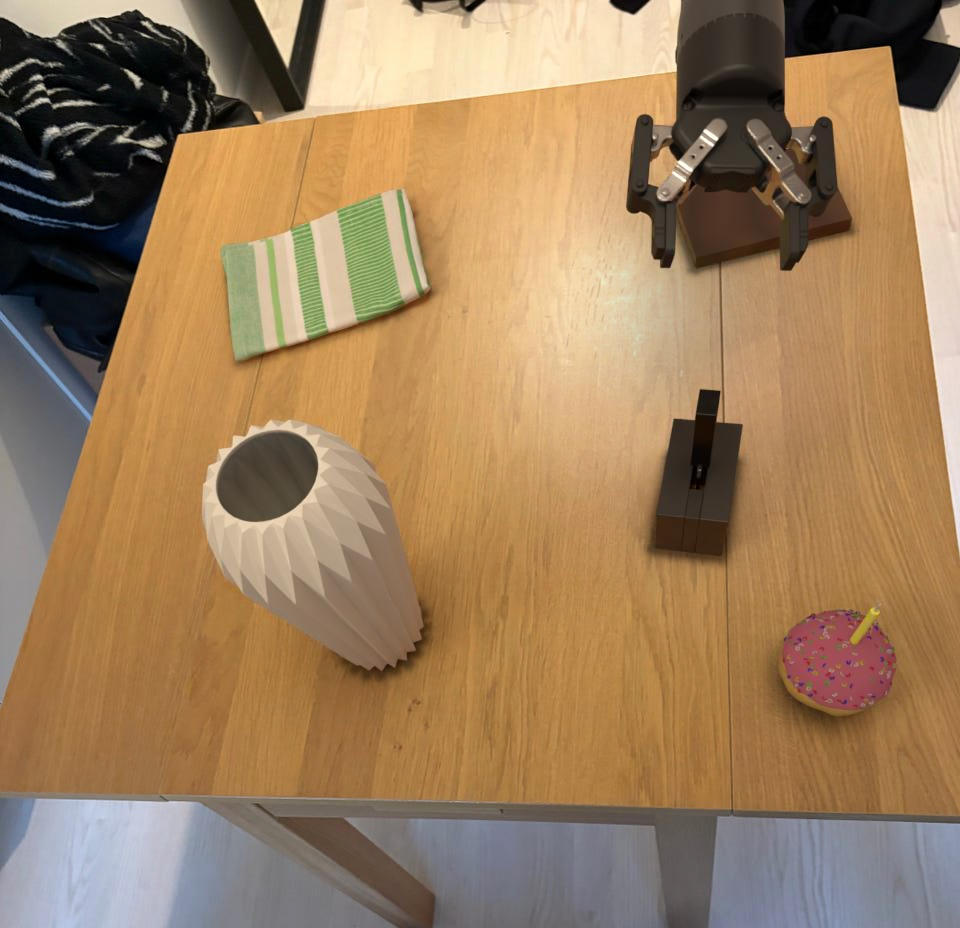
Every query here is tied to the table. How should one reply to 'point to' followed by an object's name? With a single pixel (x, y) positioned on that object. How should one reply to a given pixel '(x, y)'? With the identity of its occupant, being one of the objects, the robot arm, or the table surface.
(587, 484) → the table surface
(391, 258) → the dish towel
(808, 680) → the cupcake
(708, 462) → the knife
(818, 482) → the table surface
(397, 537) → the vase
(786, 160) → the robot arm
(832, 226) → the cutting board
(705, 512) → the knife block
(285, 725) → the table surface
